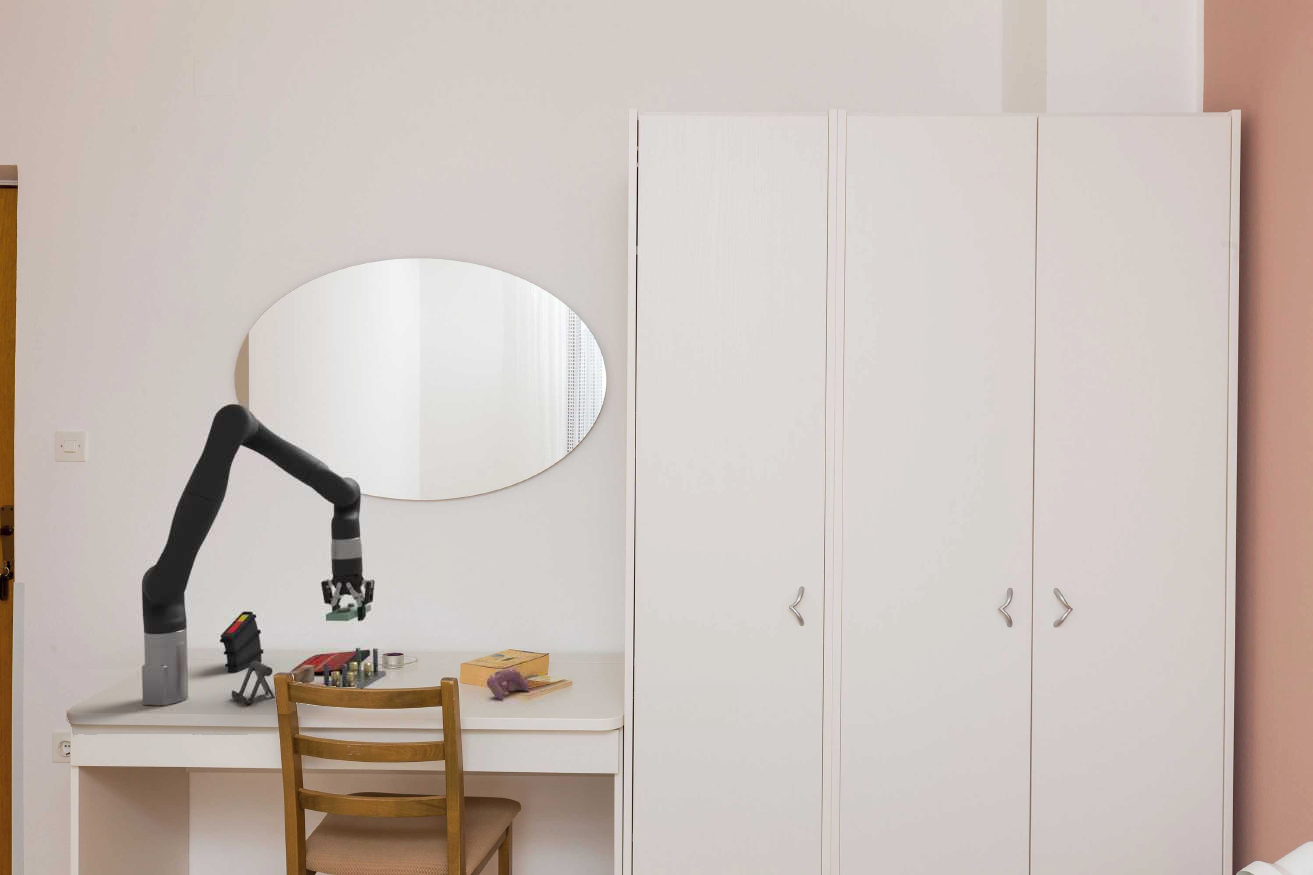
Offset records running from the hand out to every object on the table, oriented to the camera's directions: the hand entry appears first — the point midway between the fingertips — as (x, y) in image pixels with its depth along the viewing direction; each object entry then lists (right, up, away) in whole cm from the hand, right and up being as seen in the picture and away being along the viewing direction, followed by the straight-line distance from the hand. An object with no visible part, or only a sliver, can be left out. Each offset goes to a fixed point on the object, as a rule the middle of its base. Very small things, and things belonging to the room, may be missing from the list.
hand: (349, 619), depth 238 cm
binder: (-11, -17, +18) cm, 27 cm away
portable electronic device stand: (-19, -17, -13) cm, 29 cm away
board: (0, +1, 0) cm, 1 cm away
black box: (-35, -17, +16) cm, 42 cm away
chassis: (+1, -16, 0) cm, 16 cm away
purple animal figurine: (+43, -16, -11) cm, 47 cm away
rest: (-12, -16, -1) cm, 20 cm away
